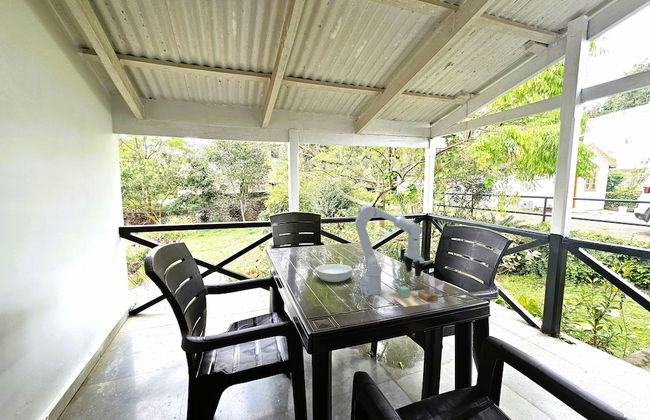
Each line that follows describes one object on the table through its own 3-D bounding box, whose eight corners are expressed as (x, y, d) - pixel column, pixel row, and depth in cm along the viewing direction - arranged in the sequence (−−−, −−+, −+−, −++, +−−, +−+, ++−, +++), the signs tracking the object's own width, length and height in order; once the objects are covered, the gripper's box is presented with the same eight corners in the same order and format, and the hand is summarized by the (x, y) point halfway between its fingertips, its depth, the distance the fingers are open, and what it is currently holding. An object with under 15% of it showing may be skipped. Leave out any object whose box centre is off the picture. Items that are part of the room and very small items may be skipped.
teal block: (402, 298, 128) (402, 289, 128) (397, 295, 132) (397, 287, 131) (409, 297, 129) (409, 288, 129) (405, 294, 133) (405, 286, 132)
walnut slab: (426, 301, 123) (426, 296, 123) (418, 297, 129) (418, 291, 129) (437, 300, 125) (437, 295, 125) (429, 295, 130) (429, 290, 130)
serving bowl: (357, 277, 162) (357, 265, 162) (343, 288, 144) (343, 275, 143) (326, 272, 172) (326, 262, 172) (309, 282, 154) (309, 270, 153)
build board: (404, 308, 118) (404, 306, 118) (387, 294, 134) (387, 293, 134) (444, 302, 123) (444, 301, 123) (422, 290, 139) (422, 289, 139)
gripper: (430, 249, 130) (429, 277, 131) (412, 244, 144) (412, 269, 145) (417, 250, 128) (416, 278, 129) (400, 244, 142) (400, 270, 143)
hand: (413, 273), depth 137 cm, fingers open, 7 cm apart
